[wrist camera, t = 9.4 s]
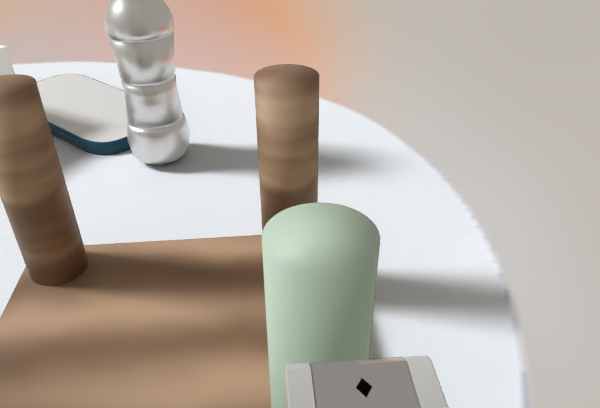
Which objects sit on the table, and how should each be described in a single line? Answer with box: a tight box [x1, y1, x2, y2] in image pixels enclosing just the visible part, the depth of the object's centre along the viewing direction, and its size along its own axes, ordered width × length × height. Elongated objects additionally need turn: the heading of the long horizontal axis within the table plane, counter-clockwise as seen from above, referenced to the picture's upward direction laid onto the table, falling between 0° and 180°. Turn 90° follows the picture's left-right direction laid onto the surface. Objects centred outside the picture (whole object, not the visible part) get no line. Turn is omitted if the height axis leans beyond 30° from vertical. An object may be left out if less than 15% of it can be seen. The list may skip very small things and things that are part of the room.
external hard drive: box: [36, 74, 130, 155], centre depth 69 cm, size 24×12×2 cm, turn 51°
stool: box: [0, 64, 319, 408], centre depth 31 cm, size 22×22×17 cm
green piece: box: [262, 203, 380, 408], centre depth 23 cm, size 12×4×14 cm, turn 92°
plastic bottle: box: [104, 0, 190, 164], centre depth 55 cm, size 6×7×20 cm
